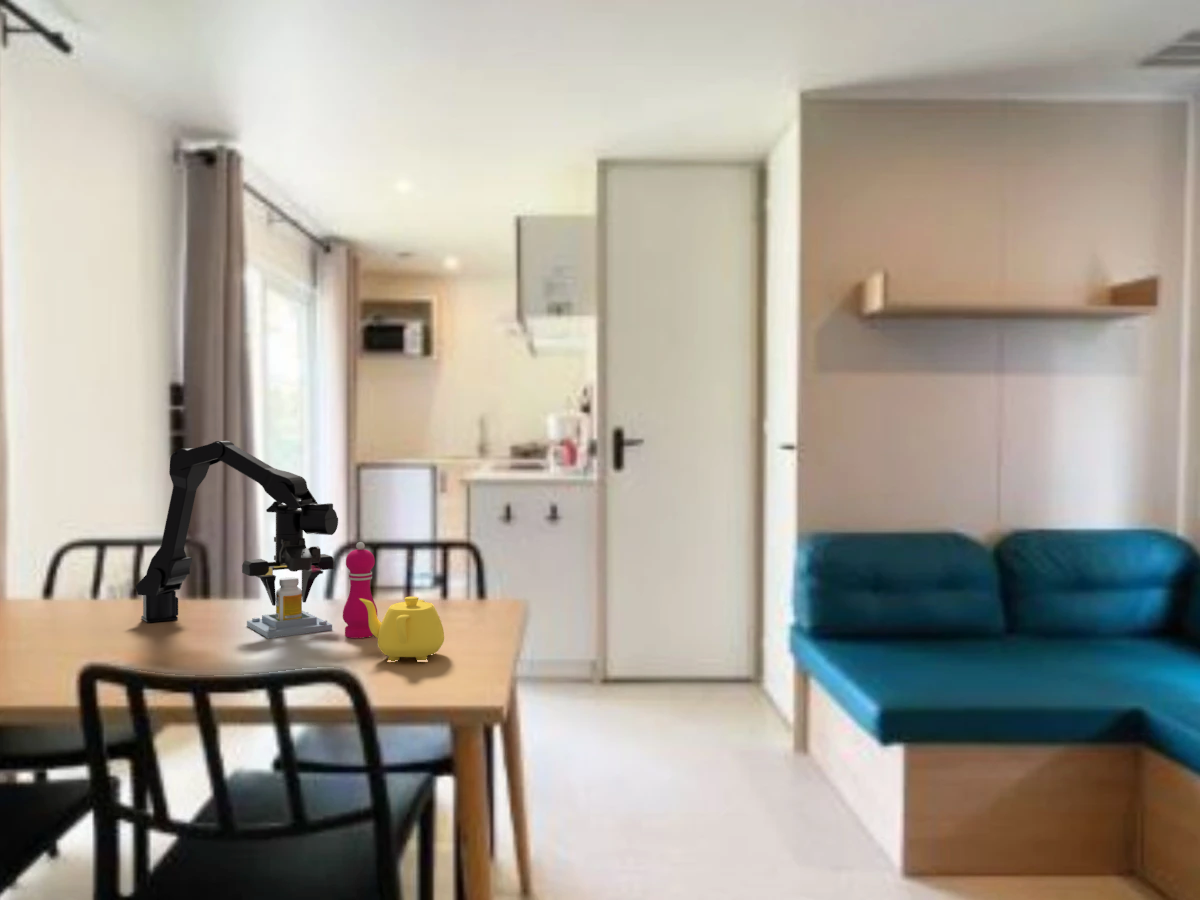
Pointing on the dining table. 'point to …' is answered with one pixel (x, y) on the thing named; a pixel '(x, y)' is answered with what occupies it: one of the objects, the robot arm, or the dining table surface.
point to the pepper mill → (358, 592)
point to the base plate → (288, 625)
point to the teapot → (407, 629)
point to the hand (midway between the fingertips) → (289, 603)
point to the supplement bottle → (288, 599)
